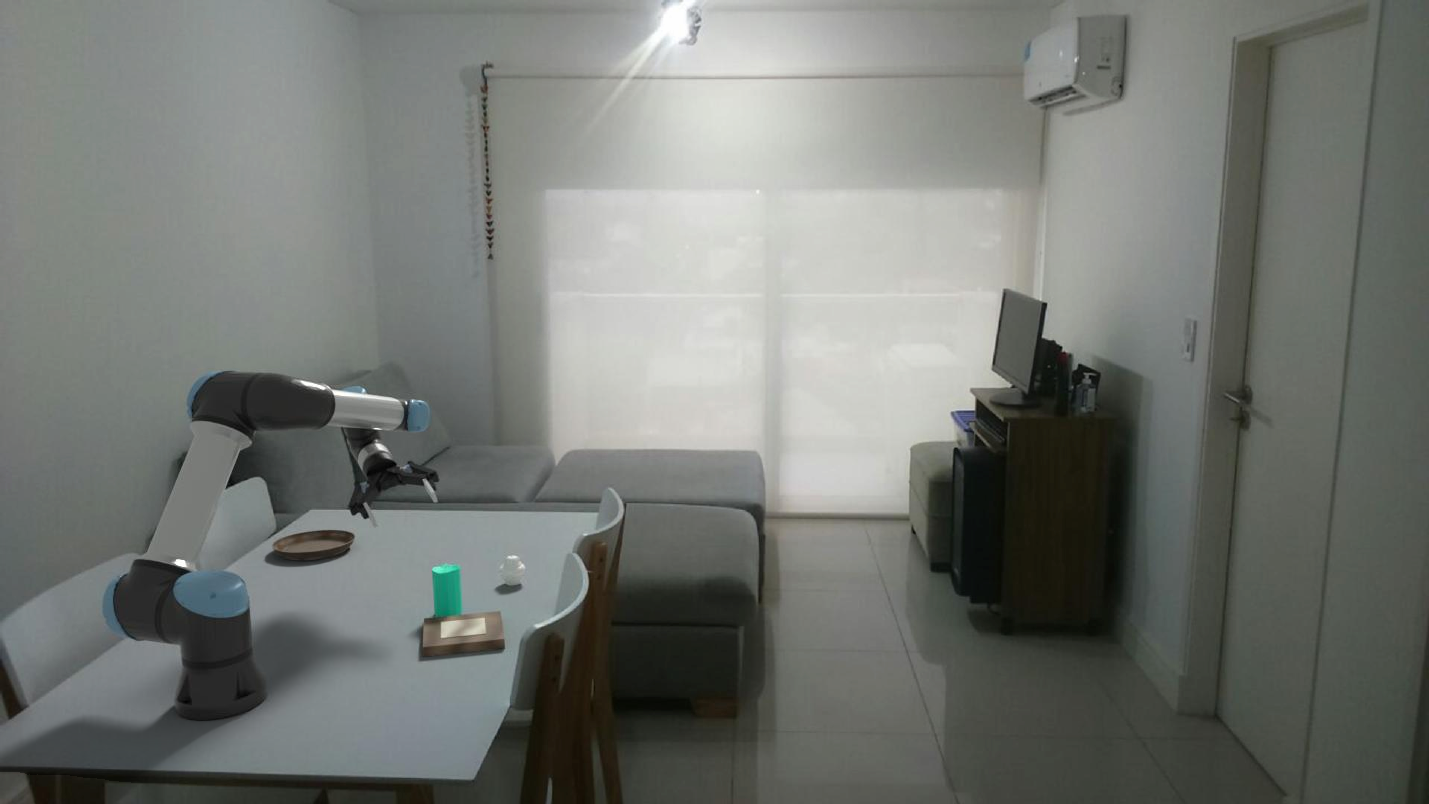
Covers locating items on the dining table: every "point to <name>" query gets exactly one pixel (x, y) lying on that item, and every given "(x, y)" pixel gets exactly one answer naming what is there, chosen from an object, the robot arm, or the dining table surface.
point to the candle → (447, 590)
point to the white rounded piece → (512, 570)
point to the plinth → (463, 633)
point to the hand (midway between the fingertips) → (404, 509)
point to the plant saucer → (313, 544)
